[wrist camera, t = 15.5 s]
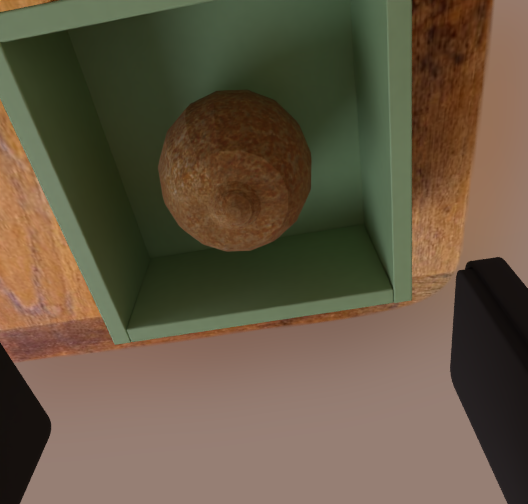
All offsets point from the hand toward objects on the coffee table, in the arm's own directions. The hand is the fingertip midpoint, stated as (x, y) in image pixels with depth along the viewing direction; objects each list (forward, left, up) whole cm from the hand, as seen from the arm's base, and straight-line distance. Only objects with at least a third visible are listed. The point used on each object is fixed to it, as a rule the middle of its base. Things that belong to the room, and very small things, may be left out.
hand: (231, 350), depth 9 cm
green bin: (0, 0, -15) cm, 15 cm away
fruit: (0, 0, -15) cm, 15 cm away
